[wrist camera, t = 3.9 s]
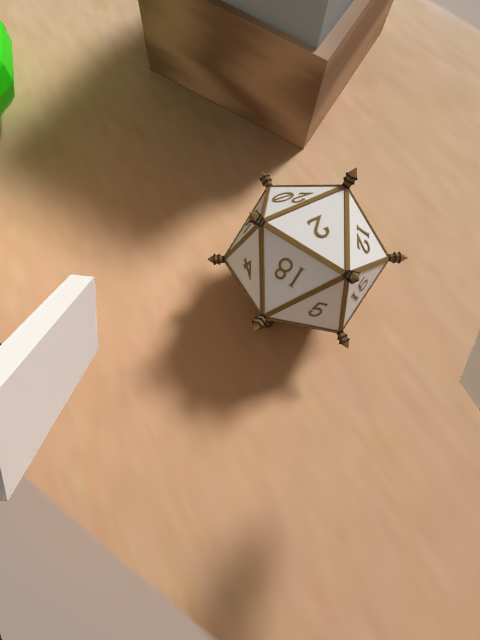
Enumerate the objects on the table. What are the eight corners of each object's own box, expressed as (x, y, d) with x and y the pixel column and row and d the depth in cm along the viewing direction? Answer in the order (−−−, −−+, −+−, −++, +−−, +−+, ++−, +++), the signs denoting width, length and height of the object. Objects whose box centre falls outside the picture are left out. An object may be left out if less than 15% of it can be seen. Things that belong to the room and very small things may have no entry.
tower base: (379, 35, 32) (421, -74, 26) (302, 151, 29) (327, 60, 22) (239, -33, 34) (244, -153, 27) (150, 71, 30) (131, -37, 24)
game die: (254, 316, 29) (143, 259, 22) (325, 205, 29) (236, 104, 21) (363, 393, 24) (266, 353, 16) (454, 257, 23) (399, 145, 15)
